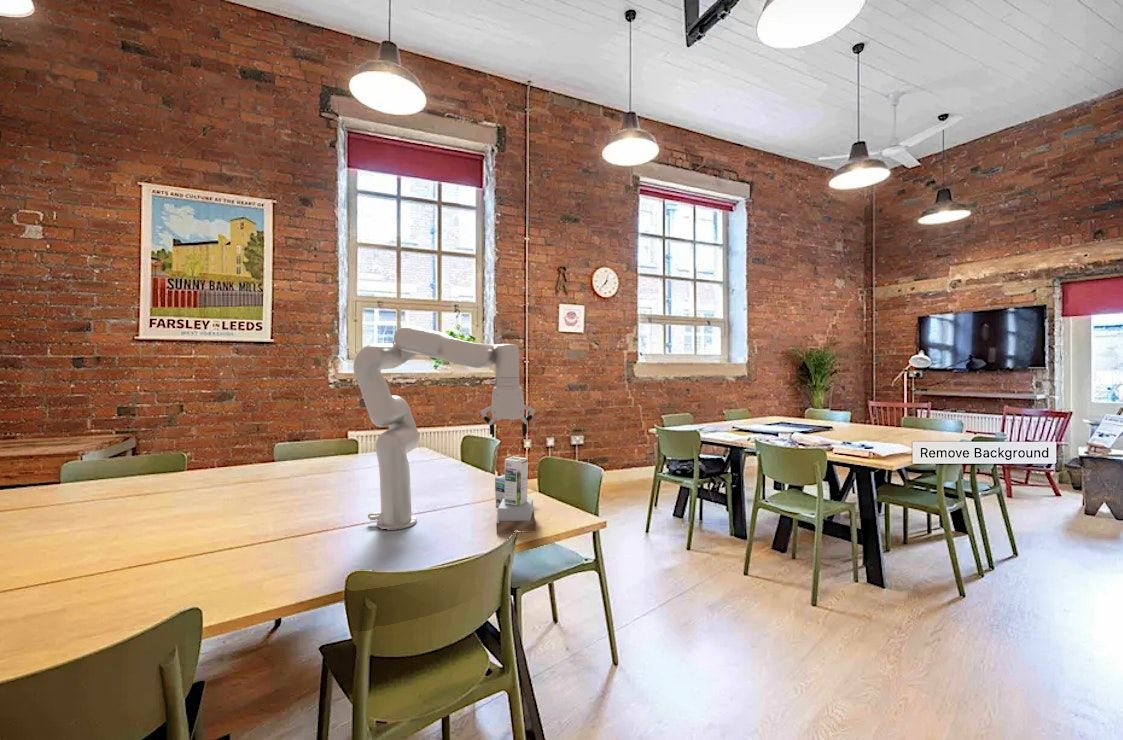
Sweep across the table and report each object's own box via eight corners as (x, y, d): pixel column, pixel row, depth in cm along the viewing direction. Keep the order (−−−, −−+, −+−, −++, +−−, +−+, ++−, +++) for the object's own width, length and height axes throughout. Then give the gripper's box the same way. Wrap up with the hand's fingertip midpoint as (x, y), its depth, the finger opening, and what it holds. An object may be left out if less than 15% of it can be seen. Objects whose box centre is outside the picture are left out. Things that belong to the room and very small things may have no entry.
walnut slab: (496, 535, 154) (496, 523, 154) (497, 522, 166) (497, 510, 166) (535, 533, 155) (535, 520, 155) (533, 520, 167) (533, 508, 167)
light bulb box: (508, 509, 176) (507, 479, 176) (494, 506, 180) (493, 477, 180) (528, 502, 185) (527, 473, 184) (514, 499, 189) (514, 471, 188)
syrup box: (503, 503, 159) (503, 459, 158) (512, 498, 164) (513, 455, 163) (519, 506, 156) (519, 461, 156) (528, 501, 162) (528, 457, 161)
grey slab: (498, 521, 155) (498, 508, 155) (503, 510, 165) (502, 498, 165) (530, 520, 155) (529, 508, 155) (533, 510, 165) (532, 498, 165)
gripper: (479, 384, 153) (480, 439, 154) (535, 383, 155) (536, 437, 156) (480, 382, 161) (481, 435, 161) (534, 381, 162) (535, 433, 163)
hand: (508, 436), depth 159 cm, fingers open, 9 cm apart
